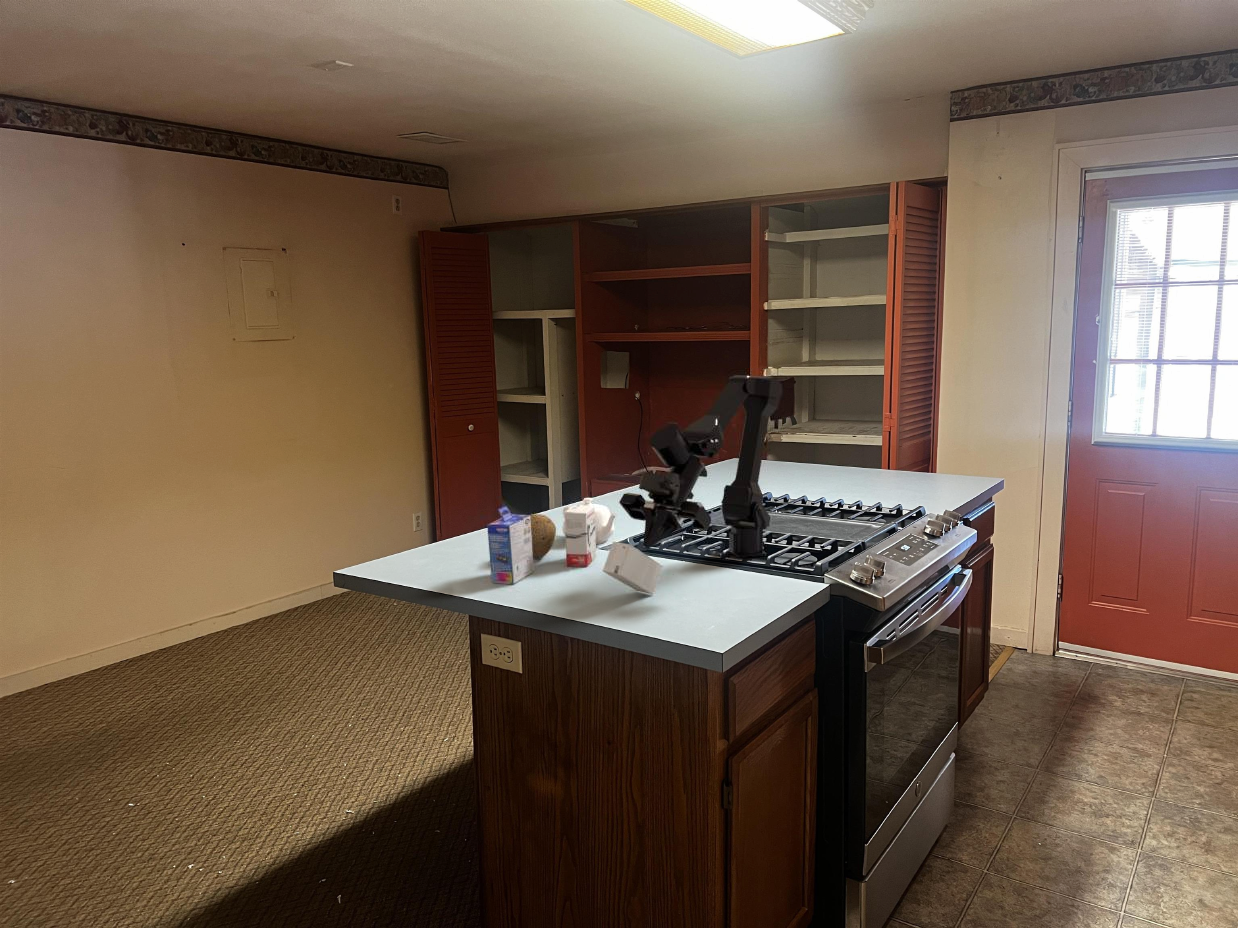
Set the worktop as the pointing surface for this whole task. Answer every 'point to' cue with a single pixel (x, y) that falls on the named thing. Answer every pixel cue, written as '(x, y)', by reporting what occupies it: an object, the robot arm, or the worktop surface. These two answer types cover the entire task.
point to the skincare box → (632, 567)
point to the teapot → (599, 521)
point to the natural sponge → (542, 534)
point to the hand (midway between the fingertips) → (645, 547)
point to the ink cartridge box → (510, 547)
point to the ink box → (580, 535)
